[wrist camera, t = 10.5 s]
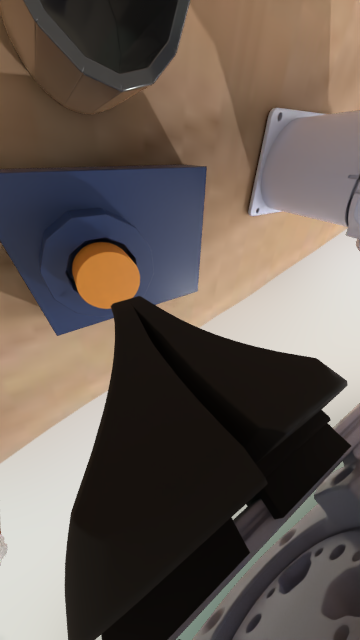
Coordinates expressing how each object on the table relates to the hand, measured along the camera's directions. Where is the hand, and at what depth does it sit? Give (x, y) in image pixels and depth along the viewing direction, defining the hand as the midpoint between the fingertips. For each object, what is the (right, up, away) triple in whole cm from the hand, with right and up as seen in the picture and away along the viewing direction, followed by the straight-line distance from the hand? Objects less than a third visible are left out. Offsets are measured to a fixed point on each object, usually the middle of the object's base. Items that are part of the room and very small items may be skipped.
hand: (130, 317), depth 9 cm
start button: (-3, +3, +3) cm, 5 cm away
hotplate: (-3, +6, +7) cm, 10 cm away
